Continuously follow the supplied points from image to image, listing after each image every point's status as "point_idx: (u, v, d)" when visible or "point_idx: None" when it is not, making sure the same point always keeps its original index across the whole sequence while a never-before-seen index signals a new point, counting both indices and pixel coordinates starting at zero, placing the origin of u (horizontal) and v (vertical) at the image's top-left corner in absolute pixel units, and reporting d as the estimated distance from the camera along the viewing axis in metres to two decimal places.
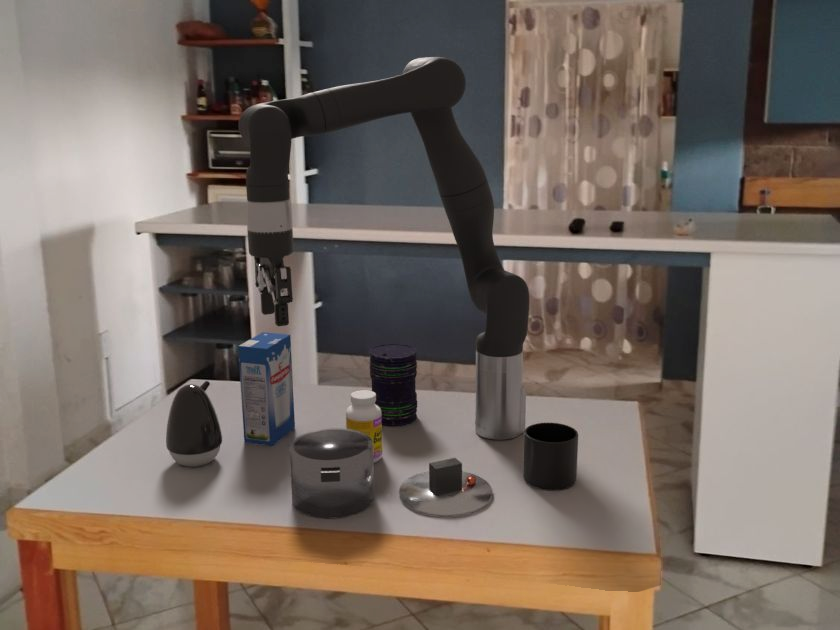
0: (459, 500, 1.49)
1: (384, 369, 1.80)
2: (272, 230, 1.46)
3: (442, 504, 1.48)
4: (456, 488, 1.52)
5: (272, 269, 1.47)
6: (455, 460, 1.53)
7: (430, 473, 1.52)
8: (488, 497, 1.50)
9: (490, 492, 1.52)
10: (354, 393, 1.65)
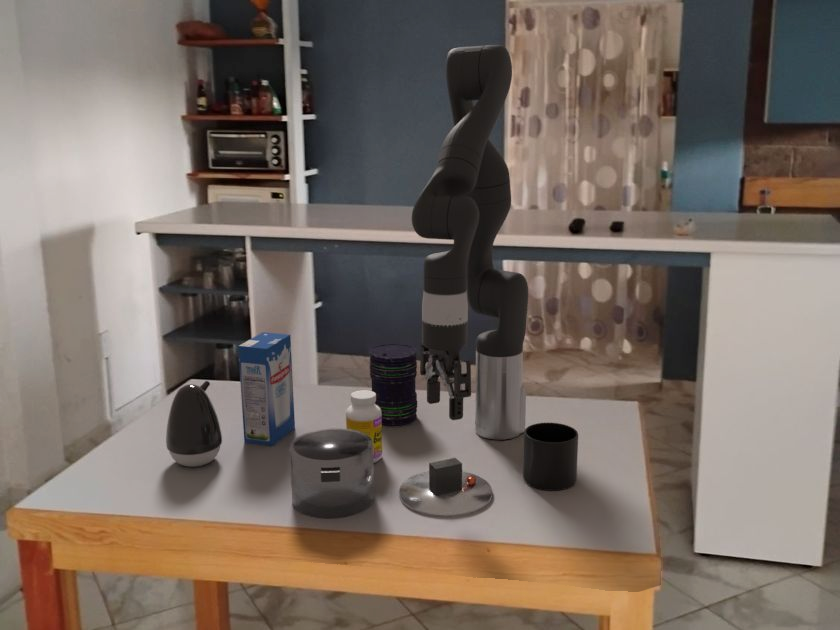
0: (459, 500, 1.49)
1: (384, 369, 1.80)
2: (451, 323, 1.41)
3: (442, 504, 1.48)
4: (456, 488, 1.52)
5: (449, 362, 1.43)
6: (455, 460, 1.53)
7: (430, 473, 1.52)
8: (488, 497, 1.50)
9: (490, 492, 1.52)
10: (354, 393, 1.65)
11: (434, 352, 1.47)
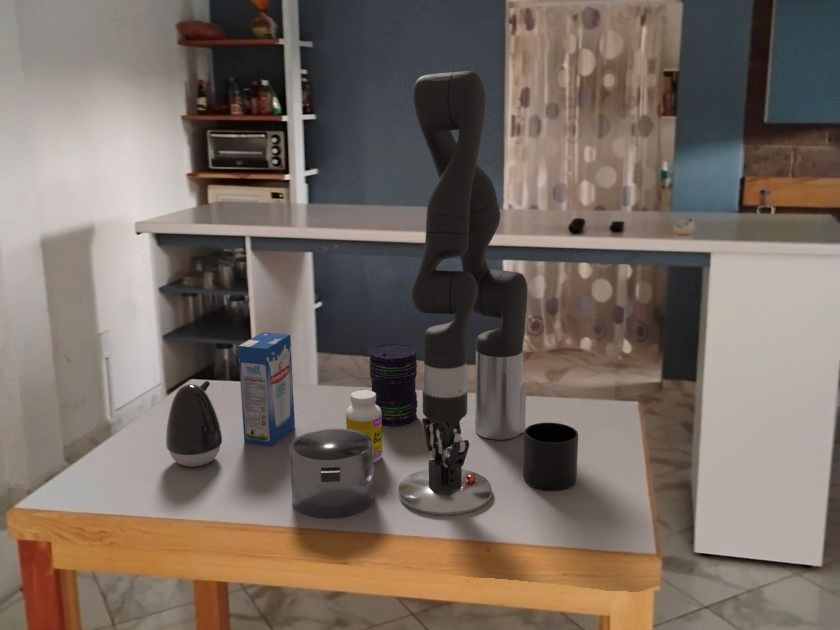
0: (458, 497, 1.49)
1: (384, 369, 1.80)
2: (451, 395, 1.45)
3: (441, 501, 1.48)
4: (455, 486, 1.52)
5: (449, 433, 1.46)
6: None
7: (429, 471, 1.52)
8: (487, 495, 1.50)
9: (489, 490, 1.52)
10: (354, 393, 1.65)
11: (434, 420, 1.51)
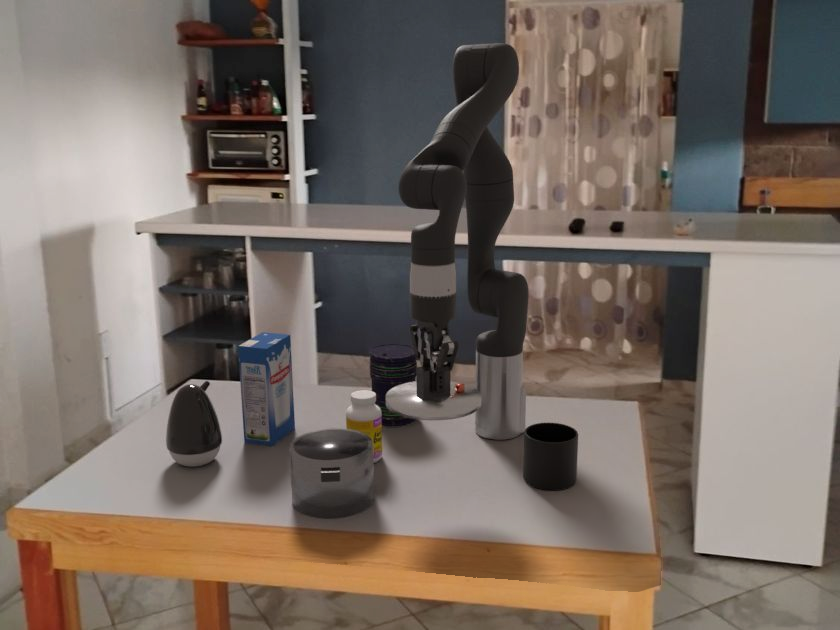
0: (447, 404, 1.44)
1: (384, 369, 1.80)
2: (440, 294, 1.40)
3: (430, 407, 1.43)
4: (444, 393, 1.47)
5: (438, 334, 1.41)
6: None
7: (417, 378, 1.47)
8: (477, 401, 1.45)
9: (479, 397, 1.47)
10: (354, 393, 1.65)
11: (422, 325, 1.46)
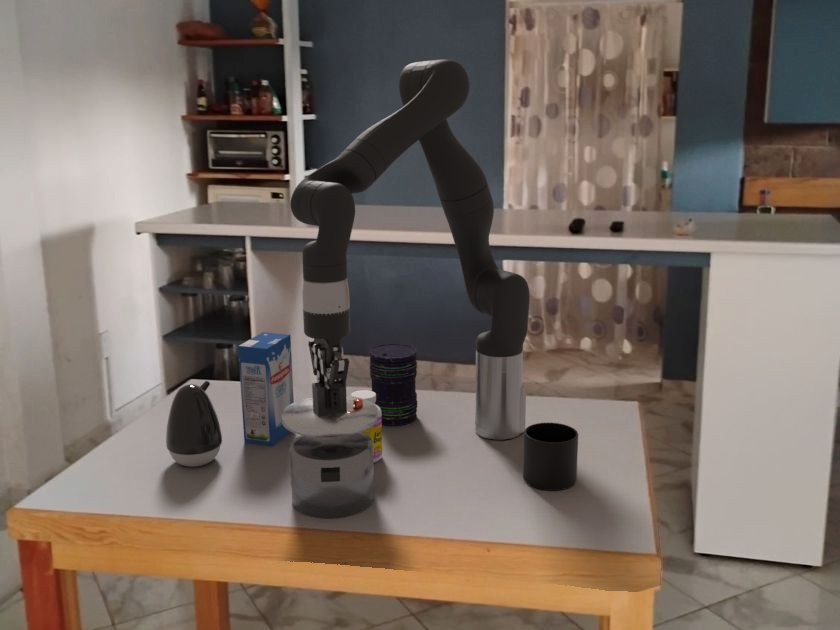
0: (341, 420, 1.44)
1: (384, 369, 1.80)
2: (330, 311, 1.39)
3: (322, 423, 1.43)
4: (340, 410, 1.47)
5: (329, 351, 1.41)
6: None
7: (313, 394, 1.46)
8: (372, 418, 1.45)
9: (375, 413, 1.47)
10: (354, 393, 1.65)
11: (318, 341, 1.46)
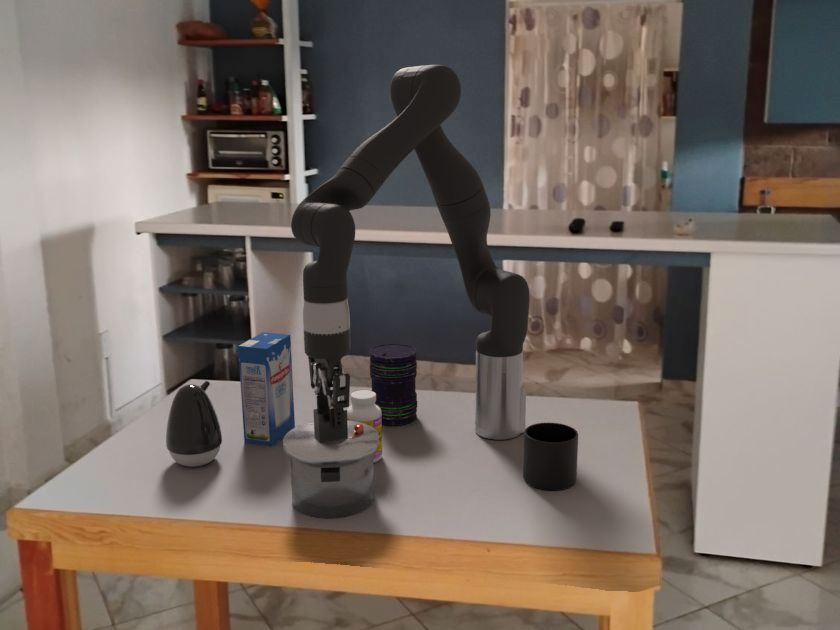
0: (342, 447, 1.45)
1: (384, 369, 1.80)
2: (330, 332, 1.40)
3: (323, 450, 1.44)
4: (341, 435, 1.48)
5: (330, 371, 1.42)
6: None
7: (314, 420, 1.48)
8: (373, 444, 1.46)
9: (376, 439, 1.48)
10: (354, 393, 1.65)
11: (318, 360, 1.46)
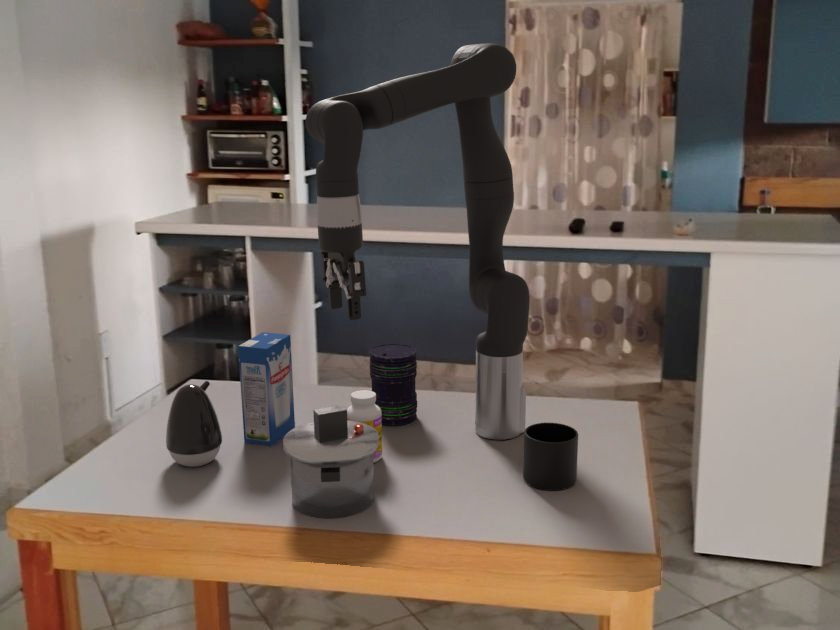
0: (342, 447, 1.45)
1: (384, 369, 1.80)
2: (344, 225, 1.47)
3: (323, 450, 1.44)
4: (341, 435, 1.48)
5: (344, 264, 1.48)
6: (341, 407, 1.49)
7: (314, 420, 1.48)
8: (373, 444, 1.46)
9: (376, 439, 1.48)
10: (354, 393, 1.65)
11: (332, 257, 1.53)
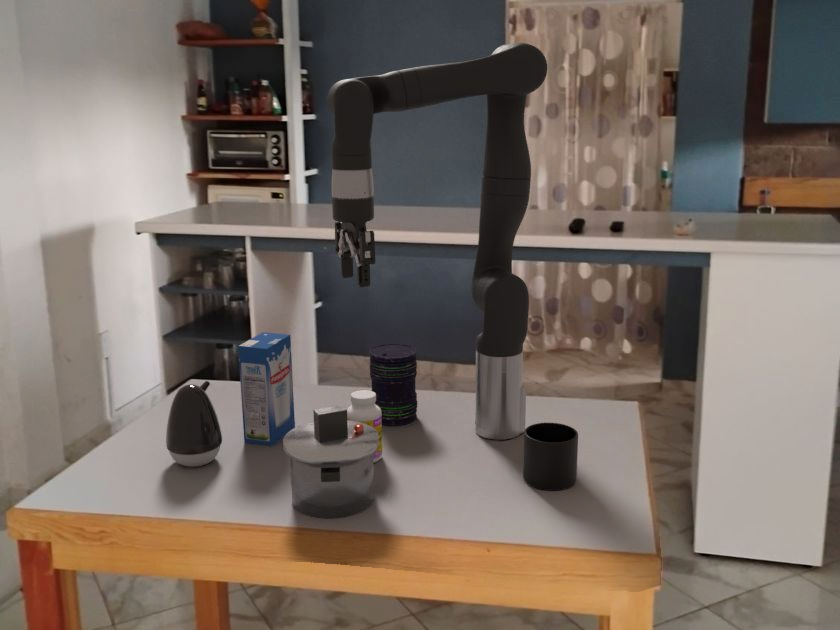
0: (342, 447, 1.45)
1: (384, 369, 1.80)
2: (357, 196, 1.56)
3: (323, 450, 1.44)
4: (341, 435, 1.48)
5: (356, 233, 1.57)
6: (341, 407, 1.49)
7: (314, 420, 1.48)
8: (373, 444, 1.46)
9: (376, 439, 1.48)
10: (354, 393, 1.65)
11: (345, 227, 1.62)
